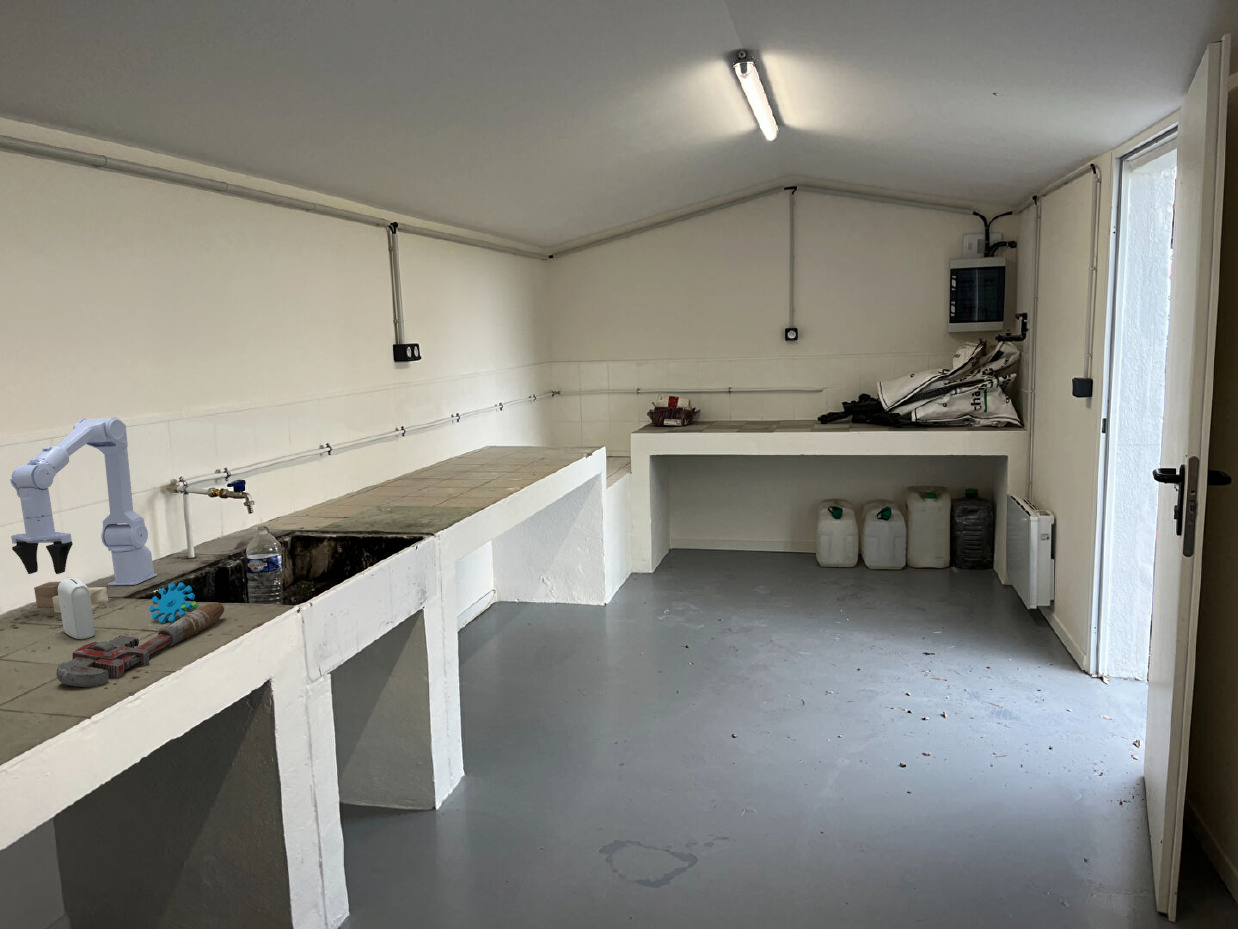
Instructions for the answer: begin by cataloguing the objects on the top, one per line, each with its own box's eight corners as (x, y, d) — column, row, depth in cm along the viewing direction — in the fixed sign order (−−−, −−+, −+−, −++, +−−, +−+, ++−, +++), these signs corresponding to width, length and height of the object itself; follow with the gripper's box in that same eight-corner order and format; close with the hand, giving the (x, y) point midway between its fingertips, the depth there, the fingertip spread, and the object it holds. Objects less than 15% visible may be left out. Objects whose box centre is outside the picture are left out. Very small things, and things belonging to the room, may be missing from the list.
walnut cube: (52, 601, 224) (49, 581, 223) (70, 601, 223) (67, 581, 222) (37, 607, 219) (34, 587, 218) (55, 607, 218) (52, 587, 217)
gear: (139, 617, 200) (161, 577, 205) (153, 628, 204) (174, 590, 210) (182, 624, 197) (203, 585, 203) (195, 636, 202) (216, 597, 207)
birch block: (78, 603, 221) (76, 587, 220) (108, 603, 220) (106, 587, 219) (54, 613, 213) (52, 597, 212) (85, 613, 212) (83, 597, 211)
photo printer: (61, 632, 197) (53, 577, 195) (83, 627, 200) (75, 573, 198) (76, 641, 190) (67, 585, 188) (98, 636, 193) (90, 580, 191)
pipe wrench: (100, 691, 161) (96, 664, 160) (40, 690, 163) (36, 664, 163) (234, 619, 200) (231, 597, 200) (184, 619, 203) (181, 597, 202)
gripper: (-4, 520, 206) (5, 577, 208) (50, 519, 203) (59, 577, 205) (22, 513, 213) (31, 569, 215) (75, 512, 210) (83, 569, 212)
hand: (46, 573), depth 210 cm, fingers open, 7 cm apart
